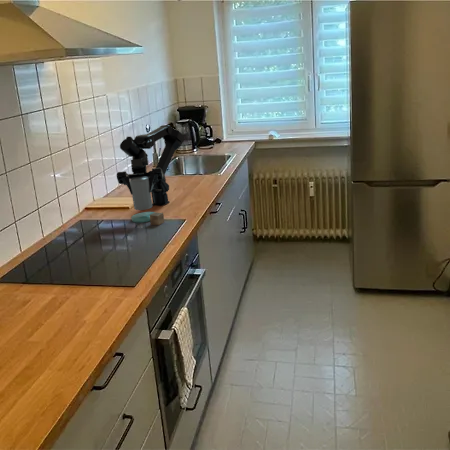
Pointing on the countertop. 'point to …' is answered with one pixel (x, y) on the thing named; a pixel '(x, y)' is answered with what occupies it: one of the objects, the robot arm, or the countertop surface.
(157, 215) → the walnut block
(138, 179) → the grey faceted cylinder
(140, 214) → the dish
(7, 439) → the countertop surface
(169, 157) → the robot arm
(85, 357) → the countertop surface
